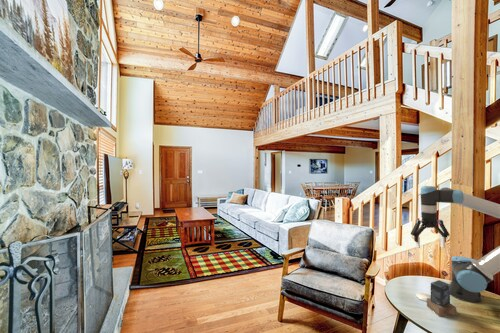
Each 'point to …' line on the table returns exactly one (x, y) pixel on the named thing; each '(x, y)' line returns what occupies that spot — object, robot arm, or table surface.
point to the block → (442, 308)
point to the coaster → (423, 296)
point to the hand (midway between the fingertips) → (430, 247)
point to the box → (440, 293)
